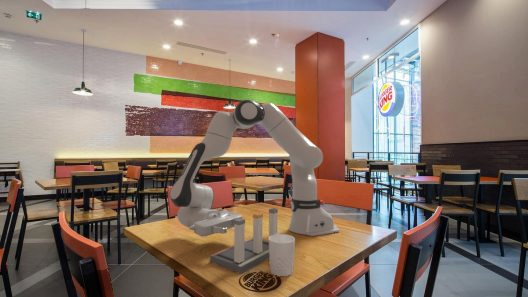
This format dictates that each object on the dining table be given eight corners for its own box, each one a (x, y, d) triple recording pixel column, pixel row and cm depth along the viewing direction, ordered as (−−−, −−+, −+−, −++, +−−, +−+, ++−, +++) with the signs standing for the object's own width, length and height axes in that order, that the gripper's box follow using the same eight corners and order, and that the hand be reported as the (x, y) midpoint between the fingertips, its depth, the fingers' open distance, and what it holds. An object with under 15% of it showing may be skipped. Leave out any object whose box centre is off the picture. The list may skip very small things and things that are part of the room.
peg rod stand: (210, 261, 85) (210, 215, 85) (253, 242, 102) (253, 204, 102) (240, 273, 77) (241, 222, 77) (281, 250, 94) (282, 209, 94)
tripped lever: (252, 252, 86) (252, 214, 87) (257, 249, 89) (257, 212, 89) (257, 253, 85) (258, 215, 85) (262, 251, 87) (262, 213, 87)
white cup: (279, 280, 73) (279, 244, 73) (263, 270, 79) (263, 237, 79) (300, 273, 77) (300, 239, 77) (283, 263, 84) (283, 232, 84)
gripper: (186, 218, 93) (212, 225, 85) (227, 208, 109) (252, 213, 101) (186, 236, 93) (212, 244, 85) (227, 223, 109) (252, 229, 101)
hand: (234, 227), depth 93 cm, fingers open, 8 cm apart
